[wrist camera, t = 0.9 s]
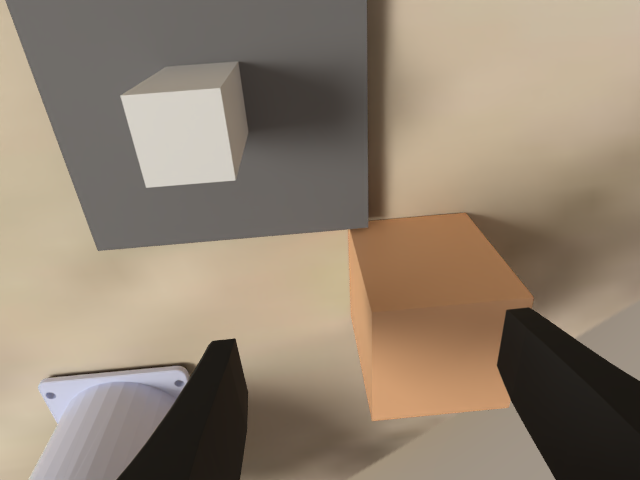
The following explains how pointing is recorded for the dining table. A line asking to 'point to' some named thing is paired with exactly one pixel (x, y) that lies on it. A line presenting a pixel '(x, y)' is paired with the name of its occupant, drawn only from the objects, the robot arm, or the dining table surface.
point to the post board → (281, 108)
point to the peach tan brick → (430, 315)
